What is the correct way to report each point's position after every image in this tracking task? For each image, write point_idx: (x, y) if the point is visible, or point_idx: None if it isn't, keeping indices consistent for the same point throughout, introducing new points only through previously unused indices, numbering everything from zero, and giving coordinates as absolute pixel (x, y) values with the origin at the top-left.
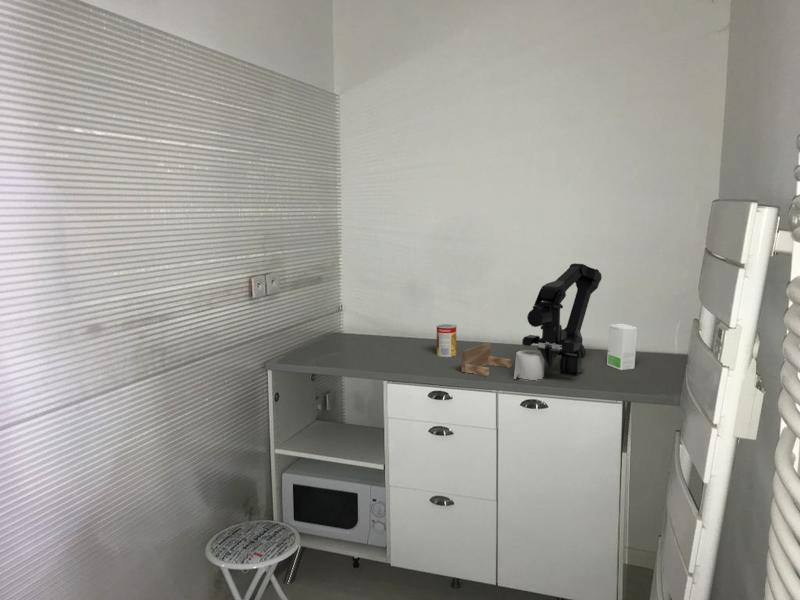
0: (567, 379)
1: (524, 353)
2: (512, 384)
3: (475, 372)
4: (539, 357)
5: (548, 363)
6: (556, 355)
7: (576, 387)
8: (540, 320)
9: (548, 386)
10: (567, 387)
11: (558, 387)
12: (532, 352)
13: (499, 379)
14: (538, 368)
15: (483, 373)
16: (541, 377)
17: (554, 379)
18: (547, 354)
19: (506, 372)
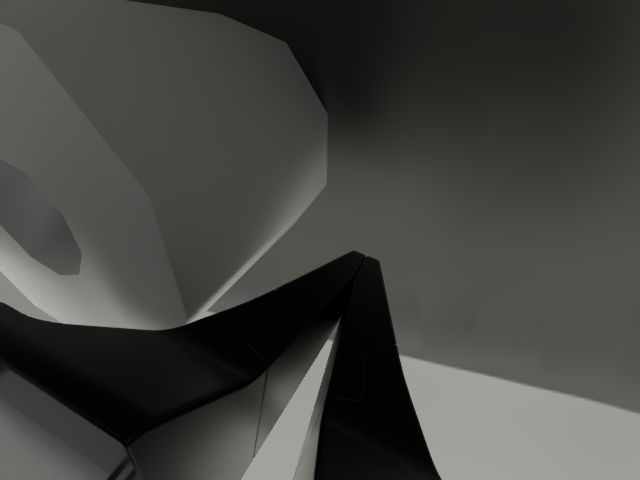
0: (579, 99)
1: (17, 253)
2: (228, 307)
3: None
4: (192, 316)
5: (331, 329)
6: (404, 413)
7: (630, 348)
8: None
9: (400, 330)
10: (540, 347)
11: (467, 347)
12: (5, 159)
13: None
14: (263, 249)
15: None
16: (318, 191)
17: (426, 148)
18: (261, 435)
19: None
